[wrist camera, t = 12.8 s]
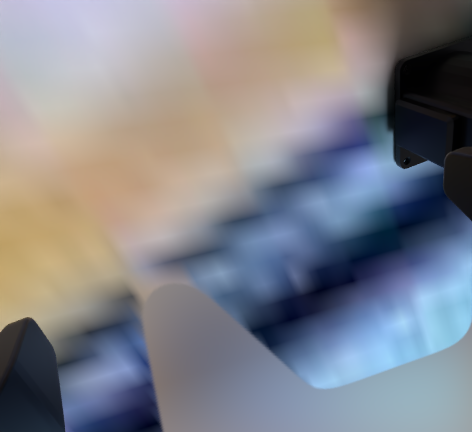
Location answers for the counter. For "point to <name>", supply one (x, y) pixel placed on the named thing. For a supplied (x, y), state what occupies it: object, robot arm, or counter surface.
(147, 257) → the counter surface
